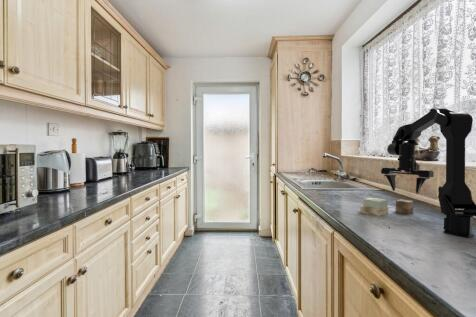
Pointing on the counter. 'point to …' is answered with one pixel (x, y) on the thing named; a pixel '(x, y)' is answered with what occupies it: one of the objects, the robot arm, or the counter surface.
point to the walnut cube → (404, 206)
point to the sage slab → (375, 203)
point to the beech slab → (374, 210)
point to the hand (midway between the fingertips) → (405, 192)
